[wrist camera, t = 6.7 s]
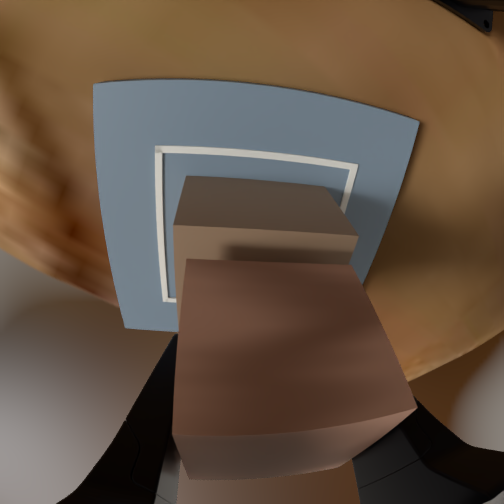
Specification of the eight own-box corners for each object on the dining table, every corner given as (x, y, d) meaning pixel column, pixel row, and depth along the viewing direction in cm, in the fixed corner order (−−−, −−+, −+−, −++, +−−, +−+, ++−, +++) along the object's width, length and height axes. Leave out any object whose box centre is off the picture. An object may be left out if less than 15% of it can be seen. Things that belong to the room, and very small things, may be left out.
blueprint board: (408, 116, 12) (476, 151, 8) (336, 320, 20) (357, 380, 16) (102, 81, 10) (41, 99, 6) (128, 316, 18) (113, 382, 14)
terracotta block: (351, 264, 9) (417, 407, 5) (311, 357, 12) (338, 467, 8) (186, 258, 8) (172, 433, 4) (190, 358, 11) (189, 479, 7)
